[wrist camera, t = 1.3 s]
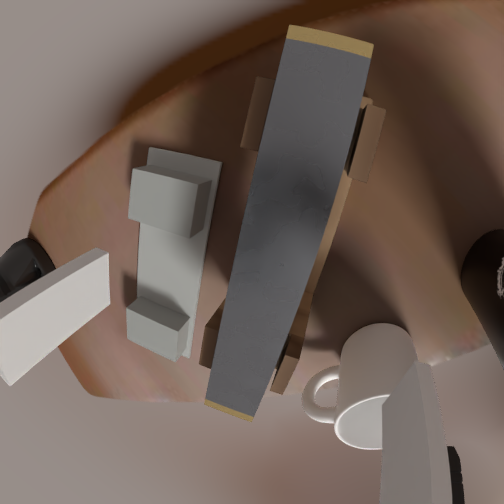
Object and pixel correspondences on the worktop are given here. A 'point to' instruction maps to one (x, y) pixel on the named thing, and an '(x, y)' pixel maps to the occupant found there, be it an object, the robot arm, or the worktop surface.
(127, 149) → the worktop surface
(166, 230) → the rest
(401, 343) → the mug
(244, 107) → the worktop surface
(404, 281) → the worktop surface
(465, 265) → the water bottle
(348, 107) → the rail
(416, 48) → the worktop surface
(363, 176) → the rack
